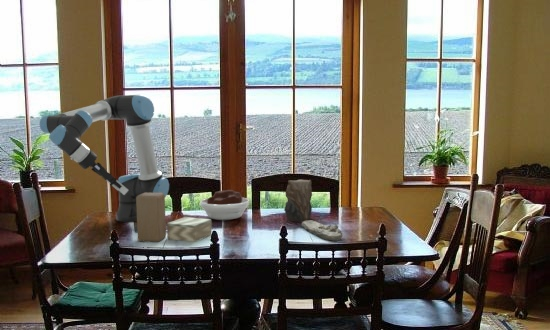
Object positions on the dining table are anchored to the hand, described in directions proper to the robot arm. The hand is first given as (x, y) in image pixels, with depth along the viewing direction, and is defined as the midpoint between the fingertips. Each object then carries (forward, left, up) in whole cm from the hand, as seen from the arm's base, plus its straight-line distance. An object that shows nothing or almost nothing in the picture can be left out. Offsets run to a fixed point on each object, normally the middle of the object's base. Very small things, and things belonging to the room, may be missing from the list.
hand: (123, 190), depth 230 cm
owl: (+53, +70, -23) cm, 91 cm away
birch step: (+20, +19, -23) cm, 36 cm away
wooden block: (+7, +9, -23) cm, 26 cm away
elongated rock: (+72, +47, -23) cm, 89 cm away
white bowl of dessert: (+16, +59, -23) cm, 66 cm away
